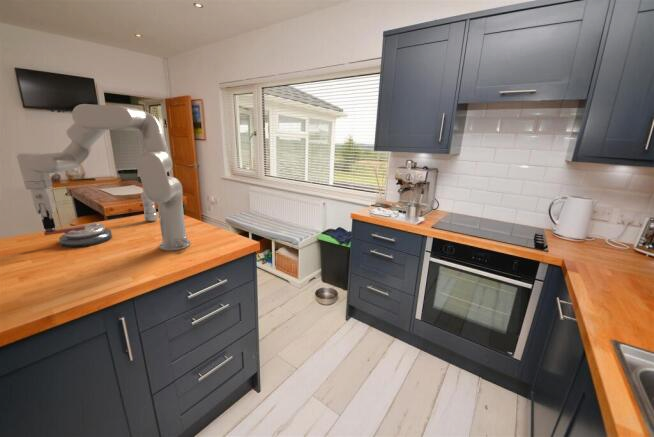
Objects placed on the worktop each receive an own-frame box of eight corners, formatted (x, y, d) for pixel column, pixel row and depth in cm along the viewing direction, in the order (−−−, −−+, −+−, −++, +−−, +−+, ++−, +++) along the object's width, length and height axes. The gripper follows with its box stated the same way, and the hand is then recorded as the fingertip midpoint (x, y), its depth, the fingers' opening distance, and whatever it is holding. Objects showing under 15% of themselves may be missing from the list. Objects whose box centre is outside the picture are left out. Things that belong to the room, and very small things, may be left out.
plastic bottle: (153, 222, 154) (148, 188, 148) (142, 222, 154) (136, 187, 148) (160, 219, 160) (156, 186, 154) (149, 219, 160) (144, 185, 154)
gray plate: (119, 238, 129) (118, 232, 129) (71, 251, 114) (70, 244, 113) (100, 231, 138) (99, 225, 137) (53, 242, 122) (51, 236, 121)
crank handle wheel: (107, 234, 125) (103, 216, 123) (46, 244, 111) (40, 224, 109) (103, 227, 134) (99, 210, 132) (46, 235, 121) (41, 217, 118)
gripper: (50, 186, 105) (61, 231, 110) (53, 181, 116) (63, 222, 121) (21, 188, 100) (34, 234, 106) (27, 182, 111) (39, 225, 116)
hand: (50, 228), depth 113 cm, fingers closed
